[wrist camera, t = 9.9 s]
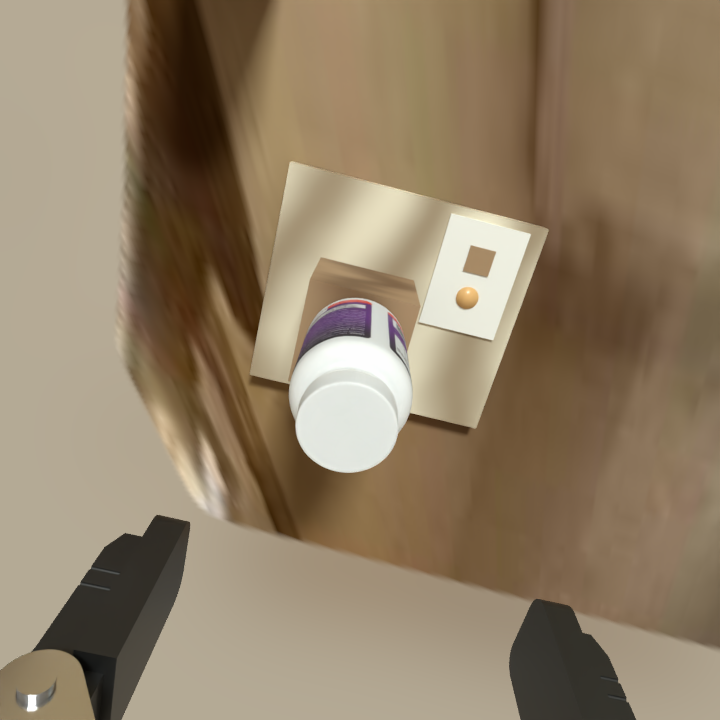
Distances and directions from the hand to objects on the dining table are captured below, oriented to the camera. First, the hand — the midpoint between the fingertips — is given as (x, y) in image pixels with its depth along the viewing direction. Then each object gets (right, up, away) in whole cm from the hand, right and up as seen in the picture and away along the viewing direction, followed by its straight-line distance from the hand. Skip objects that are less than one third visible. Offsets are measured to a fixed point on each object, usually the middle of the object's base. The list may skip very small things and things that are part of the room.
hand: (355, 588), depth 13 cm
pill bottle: (0, +6, +18) cm, 19 cm away
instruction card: (+7, +10, +22) cm, 26 cm away
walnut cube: (0, +8, +23) cm, 25 cm away
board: (+2, +9, +24) cm, 26 cm away
